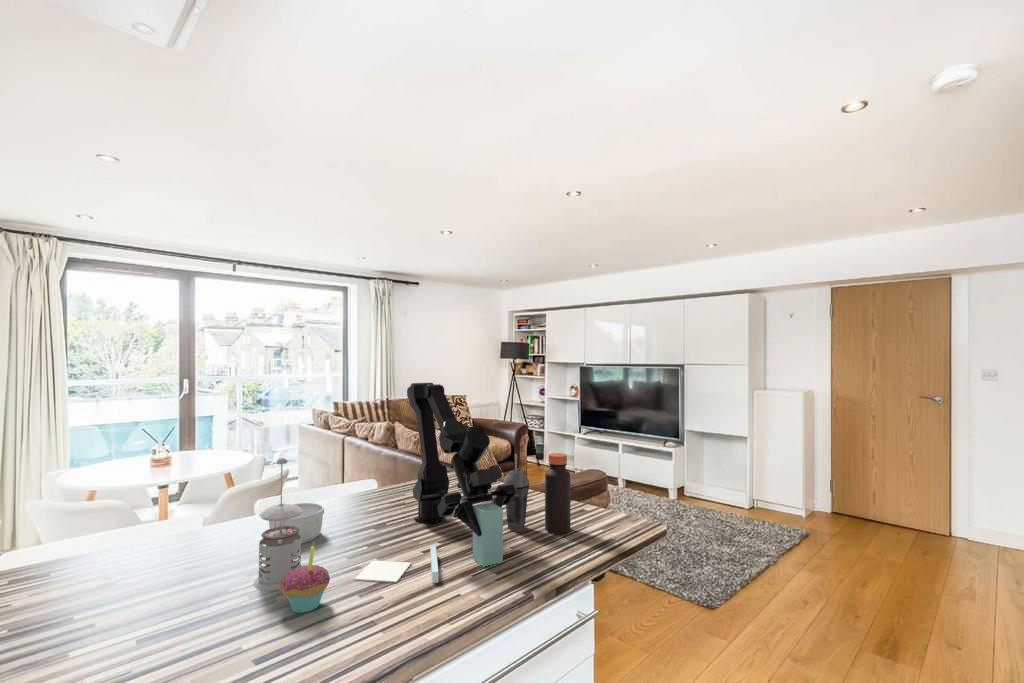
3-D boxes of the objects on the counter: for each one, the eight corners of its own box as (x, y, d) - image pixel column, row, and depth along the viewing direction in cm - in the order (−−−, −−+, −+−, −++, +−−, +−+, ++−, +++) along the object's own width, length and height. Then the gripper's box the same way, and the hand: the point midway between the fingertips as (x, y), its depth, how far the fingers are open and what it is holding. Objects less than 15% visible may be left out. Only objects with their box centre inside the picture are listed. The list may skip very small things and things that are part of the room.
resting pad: (372, 561, 108) (372, 560, 108) (411, 564, 107) (411, 562, 107) (354, 580, 99) (354, 578, 99) (396, 582, 98) (396, 581, 98)
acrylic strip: (430, 555, 112) (430, 545, 112) (435, 554, 112) (435, 545, 112) (432, 582, 98) (432, 572, 98) (438, 582, 98) (438, 571, 99)
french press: (252, 595, 93) (255, 464, 94) (253, 571, 103) (255, 454, 104) (307, 584, 98) (309, 460, 99) (303, 562, 108) (305, 450, 109)
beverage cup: (530, 524, 133) (530, 451, 134) (528, 533, 126) (528, 456, 127) (504, 523, 134) (504, 450, 135) (501, 532, 127) (501, 456, 127)
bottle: (571, 535, 125) (571, 457, 126) (545, 534, 125) (545, 457, 126) (569, 525, 132) (569, 452, 132) (544, 525, 132) (544, 452, 133)
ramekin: (254, 542, 119) (255, 514, 120) (296, 525, 132) (297, 500, 132) (295, 551, 114) (295, 521, 115) (335, 532, 127) (335, 505, 127)
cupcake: (339, 601, 91) (340, 536, 91) (302, 623, 83) (303, 553, 84) (306, 591, 95) (307, 529, 95) (268, 612, 87) (269, 545, 87)
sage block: (472, 559, 110) (472, 506, 110) (491, 554, 113) (491, 502, 113) (483, 567, 106) (483, 512, 106) (502, 562, 108) (502, 508, 109)
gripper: (443, 458, 108) (465, 522, 98) (512, 450, 118) (539, 507, 109) (428, 485, 114) (448, 548, 105) (496, 475, 125) (519, 531, 115)
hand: (490, 533), depth 108 cm, fingers closed on sage block, 5 cm apart
